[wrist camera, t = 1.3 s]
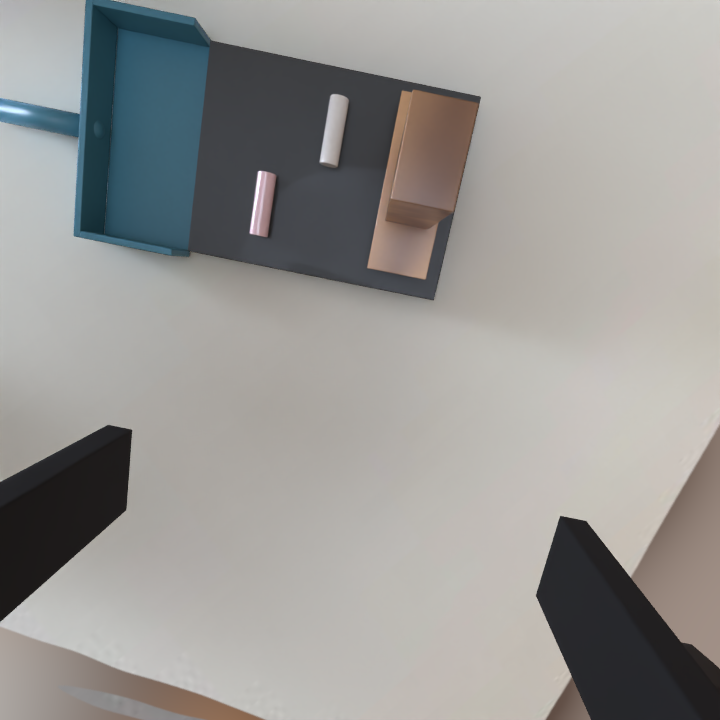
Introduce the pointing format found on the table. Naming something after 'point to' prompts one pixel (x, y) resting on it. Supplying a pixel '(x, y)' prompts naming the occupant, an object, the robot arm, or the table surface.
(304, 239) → the chalkboard
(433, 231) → the wooden block on base
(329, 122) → the chalk
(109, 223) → the dustpan
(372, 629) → the table surface
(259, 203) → the chalk
